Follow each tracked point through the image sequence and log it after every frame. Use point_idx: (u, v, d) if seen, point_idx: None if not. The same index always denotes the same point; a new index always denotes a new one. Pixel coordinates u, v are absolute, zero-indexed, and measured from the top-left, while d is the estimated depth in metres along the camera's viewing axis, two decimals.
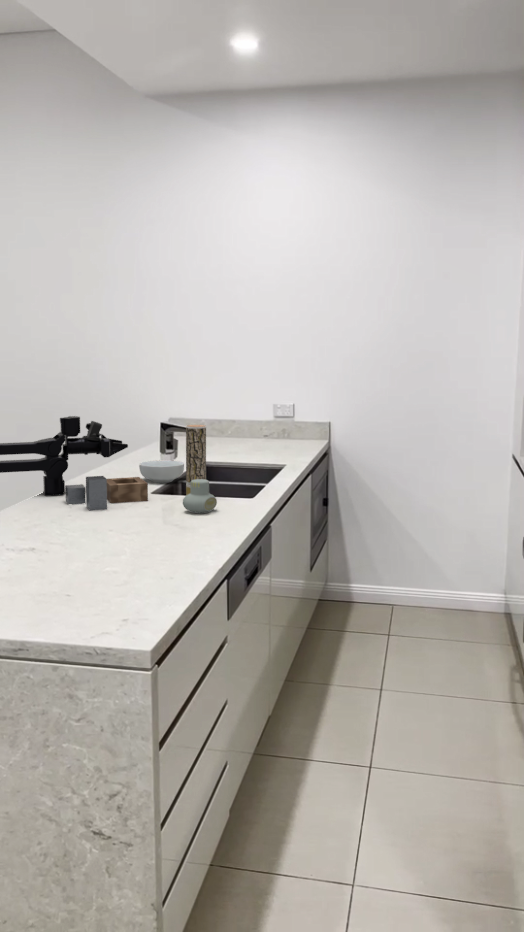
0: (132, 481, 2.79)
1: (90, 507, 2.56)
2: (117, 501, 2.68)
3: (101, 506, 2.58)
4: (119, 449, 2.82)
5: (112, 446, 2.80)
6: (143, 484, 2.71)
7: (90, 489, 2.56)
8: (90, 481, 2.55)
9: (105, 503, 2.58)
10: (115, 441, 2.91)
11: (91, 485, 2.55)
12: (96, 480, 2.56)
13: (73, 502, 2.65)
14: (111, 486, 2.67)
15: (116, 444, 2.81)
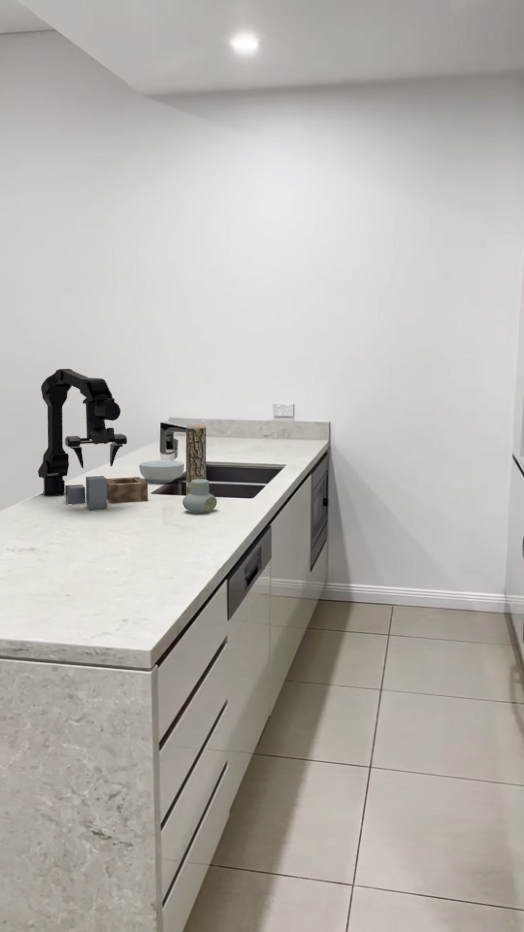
0: (132, 481, 2.79)
1: (90, 507, 2.56)
2: (117, 501, 2.68)
3: (101, 506, 2.58)
4: (78, 458, 2.56)
5: None
6: (143, 484, 2.71)
7: (90, 489, 2.56)
8: (90, 481, 2.55)
9: (105, 503, 2.58)
10: (111, 458, 2.59)
11: (91, 485, 2.55)
12: (96, 480, 2.56)
13: (73, 502, 2.65)
14: (111, 486, 2.67)
15: None
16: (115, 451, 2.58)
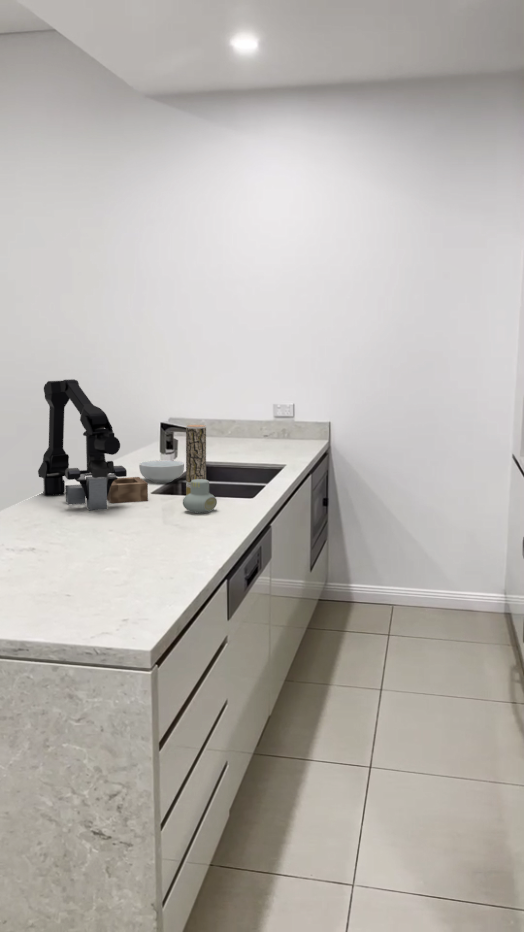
0: (132, 481, 2.79)
1: (90, 507, 2.56)
2: (117, 501, 2.68)
3: (101, 506, 2.58)
4: (83, 489, 2.58)
5: None
6: (143, 484, 2.71)
7: (90, 489, 2.56)
8: (90, 481, 2.55)
9: (105, 503, 2.58)
10: None
11: (91, 485, 2.55)
12: (96, 480, 2.56)
13: (73, 502, 2.65)
14: (111, 486, 2.67)
15: None
16: (110, 483, 2.59)
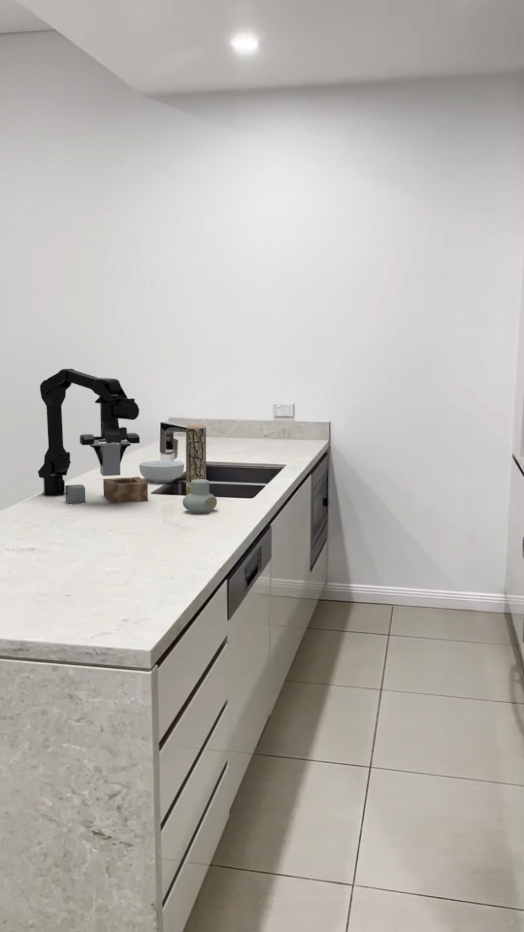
0: (132, 481, 2.79)
1: (104, 472, 2.62)
2: (117, 501, 2.68)
3: (114, 472, 2.63)
4: (97, 455, 2.64)
5: None
6: (143, 484, 2.71)
7: (104, 455, 2.61)
8: (104, 447, 2.61)
9: (118, 469, 2.64)
10: None
11: (105, 451, 2.61)
12: (110, 446, 2.61)
13: (73, 502, 2.65)
14: (111, 486, 2.67)
15: None
16: (123, 450, 2.65)
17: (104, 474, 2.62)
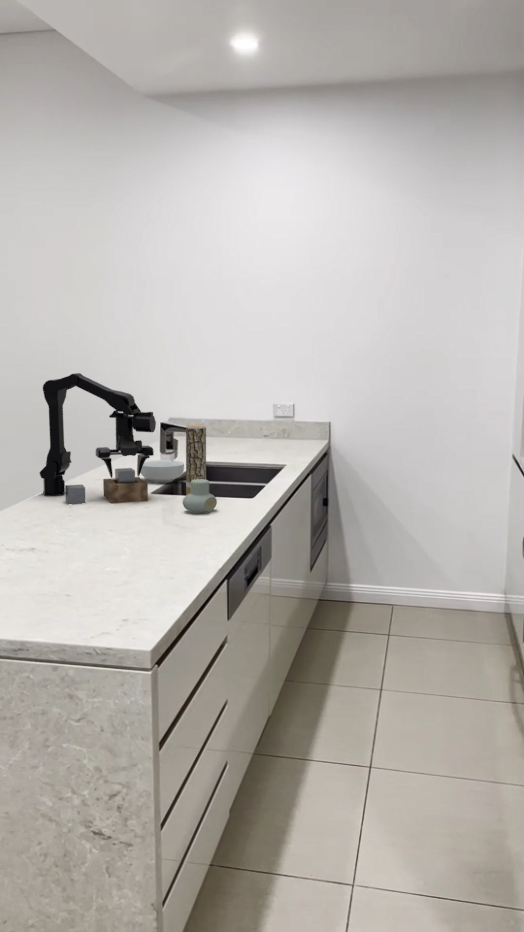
0: None
1: None
2: (117, 501, 2.68)
3: None
4: (107, 468, 2.73)
5: None
6: (143, 484, 2.71)
7: (119, 480, 2.71)
8: (119, 473, 2.71)
9: None
10: (138, 469, 2.75)
11: (120, 476, 2.71)
12: (125, 472, 2.71)
13: (73, 502, 2.65)
14: (111, 486, 2.67)
15: None
16: (142, 462, 2.74)
17: None
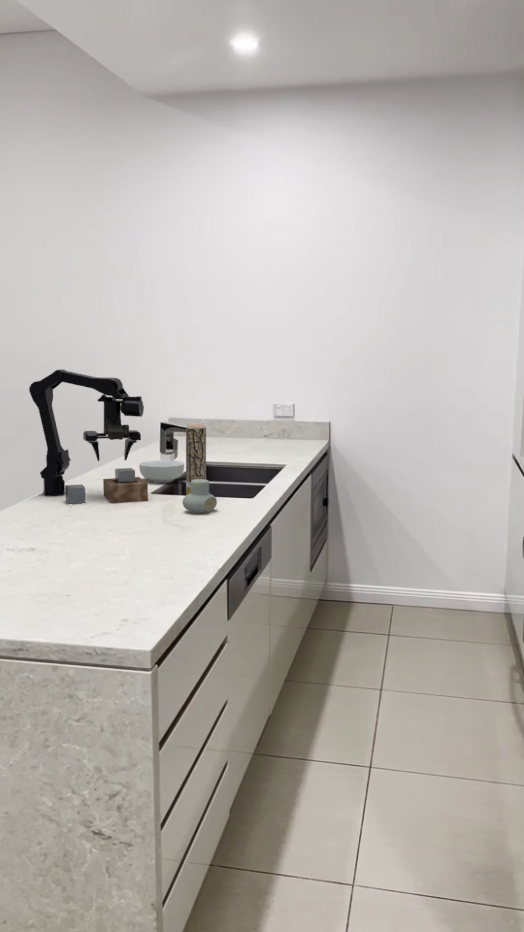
0: None
1: None
2: (117, 501, 2.68)
3: None
4: None
5: None
6: (143, 484, 2.71)
7: (119, 480, 2.71)
8: (119, 473, 2.71)
9: None
10: (125, 453, 2.77)
11: (120, 476, 2.71)
12: (125, 472, 2.71)
13: (73, 502, 2.65)
14: (111, 486, 2.67)
15: None
16: (129, 446, 2.76)
17: None
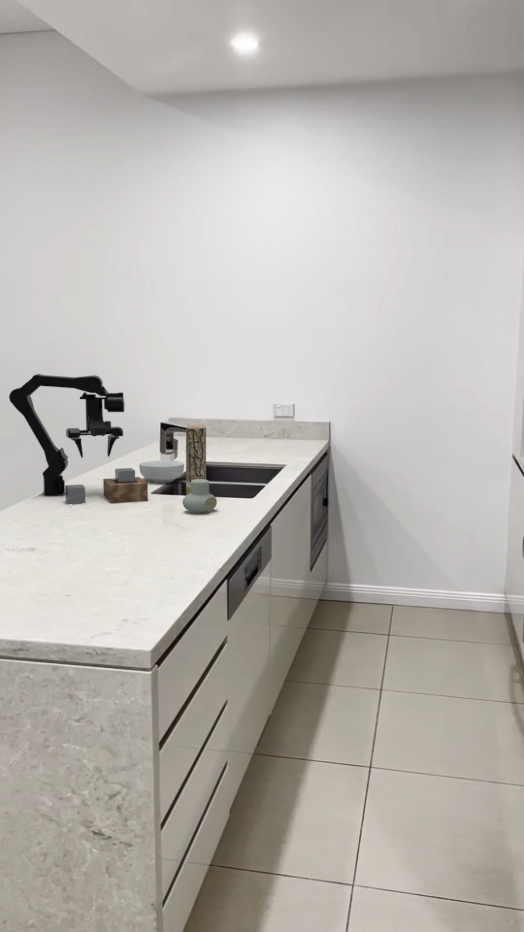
0: None
1: None
2: (117, 501, 2.68)
3: None
4: (78, 448, 2.79)
5: None
6: (143, 484, 2.71)
7: (119, 480, 2.71)
8: (120, 473, 2.71)
9: None
10: (108, 449, 2.81)
11: (120, 476, 2.71)
12: (125, 472, 2.71)
13: (73, 502, 2.65)
14: (111, 486, 2.67)
15: None
16: (112, 442, 2.80)
17: None
